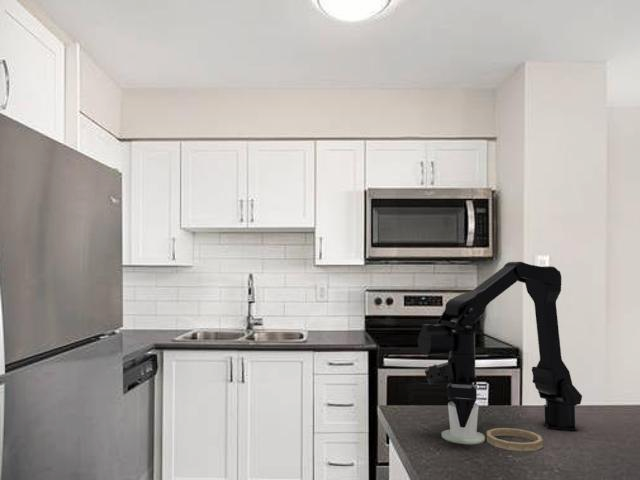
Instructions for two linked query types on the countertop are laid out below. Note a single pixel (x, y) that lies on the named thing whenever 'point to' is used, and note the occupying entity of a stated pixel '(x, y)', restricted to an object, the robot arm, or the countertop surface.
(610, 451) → the countertop surface
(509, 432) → the collar
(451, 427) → the shot glass
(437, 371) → the robot arm
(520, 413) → the countertop surface
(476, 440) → the pale green round disc
